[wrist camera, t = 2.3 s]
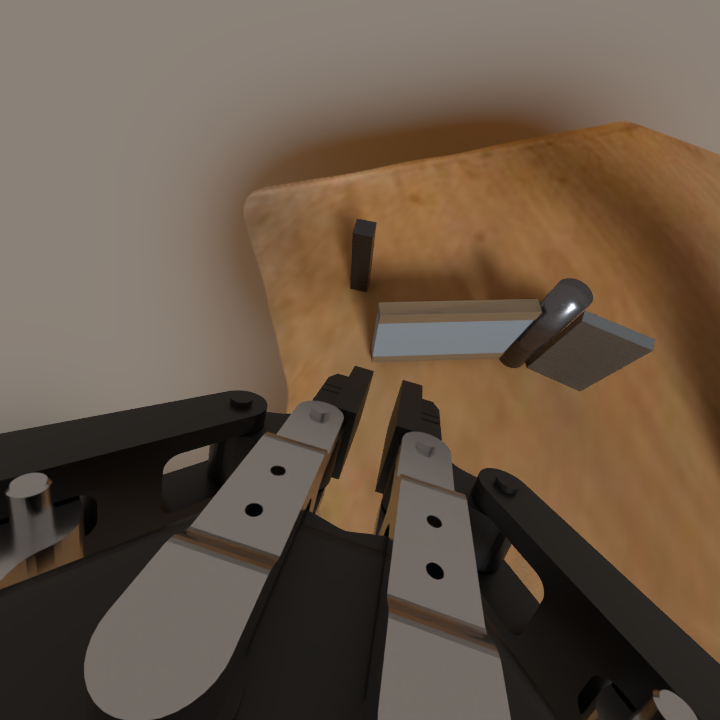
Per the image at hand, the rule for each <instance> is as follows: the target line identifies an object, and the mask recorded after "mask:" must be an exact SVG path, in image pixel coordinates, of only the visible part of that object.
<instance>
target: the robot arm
mask: <svg viewBox="0 0 720 720" xmlns="http://www.w3.org/2000/svg"><path fill="white" fill-rule="evenodd" d="M373 372H374V371H371V370H368V369H364V368H361V367H358V366H355V367H354V368H353V370H352V372H351V374H350V375H349V377H347V376H344V375H340V374H336V375H333V376H331V377H329V378H328V379H327V380H326V382H325V384H324V385H323V386H322V388H321V389H320V390H319V392H318V393H317V395H316V396H315V397H314V399H313V400H312V401H305V402H302V403H300V404H299V405H298V406H297V407H296V408H295V410H294V411H293V412H292V414H279V413H271V412H266V411H267V402H266V400H265V399H264V398H262V397H261V396H259V395H257V394H255V393H252V392H248V391H228V392H222V393H217V394H211V395H206V396H200V397H195V398H190V399H185V400H179V401H174V402H168V403H163V404H158V405H152V406H147V407H141V408H136V409H131V410H125V411H120V412H115V413H109V414H104V415H98V416H93V417H88V418H82V419H77V420H72V421H66V422H61V423H56V424H50V425H45V426H40V427H34V428H29V429H24V430H18V431H13V432H8V433H2V434H0V720H720V664H719V663H718V662H717V661H716V660H714V659H713V658H712V657H711V656H710V655H709V654H708V653H707V652H706V651H705V650H704V649H703V648H701V647H700V646H699V645H698V644H697V643H696V642H695V641H694V640H693V639H692V638H691V637H690V636H689V635H687V634H686V633H685V632H684V631H683V630H682V629H681V628H680V627H679V626H678V625H677V624H676V623H674V622H673V621H672V620H671V619H670V618H669V617H668V616H667V615H666V614H665V613H664V612H663V611H661V610H660V609H659V608H658V607H657V606H656V605H655V604H654V603H653V602H652V601H651V600H650V599H649V598H647V597H646V596H645V595H644V594H643V593H642V592H641V591H640V590H639V589H638V588H637V587H636V586H634V585H633V584H632V583H631V582H630V581H629V580H628V579H627V578H626V577H625V576H624V575H623V574H621V573H620V572H619V571H618V570H617V569H616V568H615V567H614V566H613V565H612V564H611V563H610V562H609V561H607V560H606V559H605V558H604V557H603V556H602V555H601V554H600V553H599V552H598V551H597V550H596V549H594V548H593V547H592V546H591V545H590V544H589V543H588V542H587V541H586V540H585V539H584V538H583V537H581V536H580V535H579V534H578V533H577V532H576V531H575V530H574V529H573V528H572V527H571V526H570V525H568V524H567V523H566V522H565V521H564V520H563V519H562V518H561V517H560V516H559V515H558V514H557V513H556V512H554V511H553V510H552V509H551V508H550V507H549V506H548V505H547V504H546V503H545V502H544V501H543V500H541V499H540V498H539V497H538V496H537V495H536V494H535V493H534V492H533V491H532V490H531V489H530V488H528V487H527V486H526V485H525V484H524V483H523V482H522V481H521V480H519V479H518V478H516V477H515V476H513V475H511V474H509V473H507V472H505V471H502V470H499V469H494V468H486V469H483V470H481V471H480V472H479V475H478V477H475V476H473V475H471V474H469V473H467V472H465V471H463V470H461V469H460V468H458V467H457V466H455V465H454V464H453V463H452V460H451V452H450V450H449V448H448V447H447V445H446V444H445V443H443V442H442V439H441V427H440V419H439V418H440V415H439V409H438V408H437V407H436V406H435V404H434V403H433V402H431V401H428V400H424V399H422V385H419V384H415V383H412V382H409V381H405V380H403V381H402V384H401V387H400V390H399V393H398V397H397V400H396V403H395V406H394V409H393V413H392V416H391V419H390V422H389V426H388V430H387V434H386V439H385V444H384V449H383V454H382V459H381V464H380V469H379V474H378V479H377V485H376V490H375V491H376V492H379V493H382V494H383V497H382V501H381V504H380V507H379V510H378V513H377V518H376V523H375V528H374V533H373V534H364V533H356V532H348V531H344V530H342V529H340V528H338V527H336V526H334V525H333V524H331V523H329V522H328V521H326V520H324V519H322V518H321V517H319V516H317V512H318V509H319V507H320V504H321V501H322V499H323V496H324V492H325V488H326V486H327V485H328V484H329V482H330V479H331V477H333V478H336V479H339V477H340V474H341V472H342V469H343V466H344V463H345V461H346V458H347V455H348V452H349V450H350V447H351V444H352V441H353V438H354V436H355V433H356V430H357V427H358V425H359V422H360V419H361V415H362V412H363V408H364V405H365V401H366V398H367V394H368V391H369V387H370V383H371V380H372V376H373ZM207 445H210V450H209V459H208V460H207V461H204V462H201V463H198V464H195V465H192V466H189V467H186V468H183V469H180V470H177V471H173V472H171V473H167V474H164V475H163V469H164V466H165V464H166V463H167V462H168V461H169V460H170V459H171V458H172V457H174V456H176V455H178V454H180V453H183V452H187V451H190V450H193V449H197V448H201V447H204V446H207ZM511 544H512V545H513V546H514V547H515V548H516V549H517V551H518V552H519V553H520V554H521V555H522V556H523V558H524V559H525V560H526V561H527V562H528V563H529V564H530V566H531V567H532V568H533V569H534V570H535V571H536V573H537V574H538V575H539V577H540V579H541V581H542V584H543V587H544V598H543V600H542V602H541V604H539V602H538V601H537V600H536V599H535V597H534V596H533V595H532V594H531V592H530V591H529V590H528V589H527V587H526V586H525V585H524V584H523V583H522V581H521V580H520V579H519V578H518V576H517V575H516V574H515V573H514V571H513V570H512V569H511V568H510V566H509V565H508V564H507V563H506V562H505V560H504V558H505V556H506V554H507V552H508V550H509V548H510V546H511Z"/></svg>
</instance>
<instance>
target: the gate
mask: <svg viewBox="0 0 720 720" xmlns="http://www.w3.org/2000/svg"><path fill="white" fill-rule="evenodd" d="M541 313H542V310H541V307H540V304H539V301H538V299H514V300H465V301H417V302H379V305H378V312H377V318H376V324H375V330H374V336H373V342H372V346H371V360H372V362H397V361H429V360H460V359H492V358H500V357H501V356H502V355H503V354H504V352H505V350H506V349H507V348H508V347H509V346H510V345H511V344H512V343H513V342H514V341H515V340H516V339H517V338H518V337H519V336H520V334H521V333H522V332H523V331H524V330H525V329H526V328H527V327H528V326H529V325H530V324H531V323H532V322H533V321H534V320H536V319H537V318H538V317H539V316H540V314H541Z"/></svg>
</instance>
